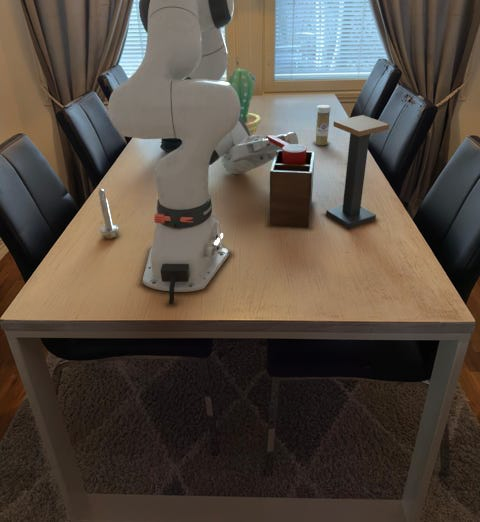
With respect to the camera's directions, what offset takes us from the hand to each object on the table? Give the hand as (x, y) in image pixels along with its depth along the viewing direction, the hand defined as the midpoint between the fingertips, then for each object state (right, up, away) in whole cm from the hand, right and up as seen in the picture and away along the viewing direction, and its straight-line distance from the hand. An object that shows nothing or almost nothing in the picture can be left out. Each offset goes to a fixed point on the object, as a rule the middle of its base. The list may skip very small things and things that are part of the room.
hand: (277, 140), depth 124 cm
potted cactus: (-10, +13, +52) cm, 55 cm away
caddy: (+4, -19, +2) cm, 20 cm away
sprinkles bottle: (+20, +10, +47) cm, 52 cm away
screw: (-42, -26, -5) cm, 50 cm away
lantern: (-32, +7, +44) cm, 55 cm away
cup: (+2, -8, +2) cm, 9 cm away
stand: (+19, -20, 0) cm, 28 cm away
